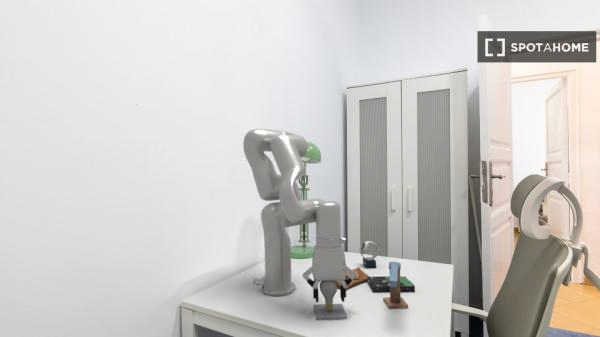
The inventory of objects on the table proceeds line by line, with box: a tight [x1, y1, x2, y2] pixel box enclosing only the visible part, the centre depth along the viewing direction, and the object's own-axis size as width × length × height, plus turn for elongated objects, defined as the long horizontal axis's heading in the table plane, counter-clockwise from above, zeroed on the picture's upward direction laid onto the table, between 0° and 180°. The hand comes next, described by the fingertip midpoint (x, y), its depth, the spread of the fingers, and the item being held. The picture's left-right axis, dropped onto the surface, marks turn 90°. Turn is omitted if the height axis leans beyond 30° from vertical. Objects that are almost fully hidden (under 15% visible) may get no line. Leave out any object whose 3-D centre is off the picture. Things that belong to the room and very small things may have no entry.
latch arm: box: [388, 261, 402, 287], centre depth 93 cm, size 18×4×2 cm, turn 162°
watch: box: [359, 240, 379, 270], centre depth 138 cm, size 6×8×11 cm
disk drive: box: [366, 275, 416, 294], centre depth 114 cm, size 10×3×15 cm
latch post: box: [382, 269, 409, 310], centre depth 100 cm, size 6×6×11 cm
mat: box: [313, 303, 348, 321], centre depth 95 cm, size 9×9×1 cm
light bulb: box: [319, 281, 338, 311], centre depth 96 cm, size 5×6×10 cm
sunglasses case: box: [336, 266, 370, 292], centre depth 120 cm, size 18×7×7 cm
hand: (329, 299), depth 95 cm, fingers open, 7 cm apart
